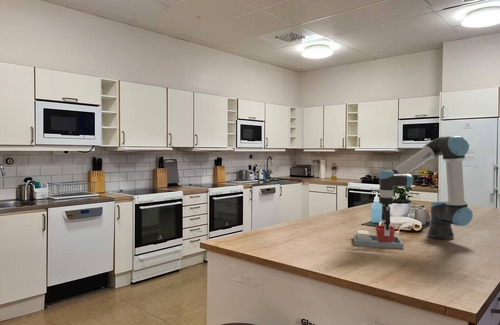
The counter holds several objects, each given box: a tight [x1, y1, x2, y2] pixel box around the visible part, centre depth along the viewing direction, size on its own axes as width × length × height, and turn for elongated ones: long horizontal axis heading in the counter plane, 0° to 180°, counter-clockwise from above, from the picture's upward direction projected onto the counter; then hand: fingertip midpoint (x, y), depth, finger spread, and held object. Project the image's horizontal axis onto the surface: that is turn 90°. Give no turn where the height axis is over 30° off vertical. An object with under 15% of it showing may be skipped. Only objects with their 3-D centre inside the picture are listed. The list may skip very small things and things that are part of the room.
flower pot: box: [375, 225, 396, 243], centre depth 214 cm, size 11×11×10 cm
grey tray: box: [353, 233, 404, 251], centre depth 216 cm, size 18×26×4 cm
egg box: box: [356, 229, 370, 241], centre depth 217 cm, size 10×6×6 cm, turn 166°
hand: (385, 233), depth 214 cm, fingers open, 13 cm apart
